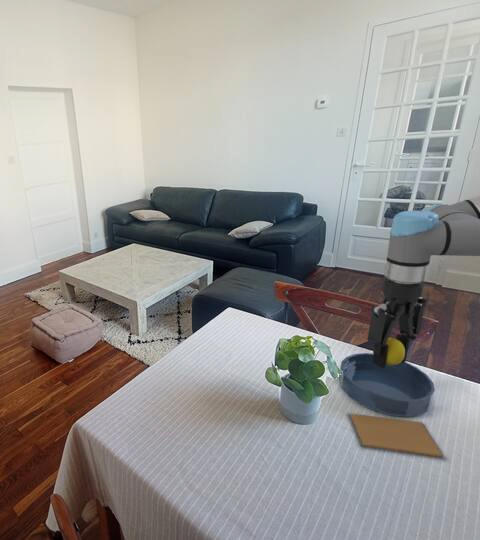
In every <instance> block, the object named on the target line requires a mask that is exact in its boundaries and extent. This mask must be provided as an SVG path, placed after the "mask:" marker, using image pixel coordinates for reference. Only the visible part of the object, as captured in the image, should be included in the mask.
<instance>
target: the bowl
mask: <svg viewBox="0 0 480 540" xmlns="http://www.w3.org/2000/svg"><path fill="white" fill-rule="evenodd" d="M373 356H374V353H373V352H371V353H370V352H369V353H368V352H359V353H354V354H351V355H348V356H346V357H345V358H343V359H342V360H341V361H340V367H339V368H340V369H341V370H342V371H343V374H342V375H340V374H339V376H338V383H339V386H340V388H341V390H342V391H343V392H344V393H345V394H346V395H347V396H348V397H349V398H350V399H351V400H353V401H355V402H356V403H358V404H359V405H361V406H363V407H365V408H368V409H369V410H372V411H374V412H378V413H380V414H384V415H385V414H386V415H387V416H395V417H402V418H407V417H417V416H421V415H422V414H425V413H427V412H428V411H429V409H430V408H431V406H432V403H433V400H434V396H435V392H436V389H435V383H434V382H433V381H432V379H431V378H430V377H429V376H428V374H427V373H426V372H424V371H422V370H421V369H420V368H418V367H417V366H416V365H413V364H411V363H409V362H408V361H405V362H401V363H399V364H397V365H387V364H385V368H381V367H379V366H378V365H376V364H374V363H373ZM340 369H339V370H340Z"/></svg>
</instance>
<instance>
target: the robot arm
mask: <svg viewBox="0 0 480 540" xmlns="http://www.w3.org/2000/svg"><path fill="white" fill-rule="evenodd" d="M387 247H388V248H387V254H386V255H387V256H386V262H385V267H384V275H383V276H384V277H383V279H382V284H381V293H383V295H384V298H383V299H382V301H381V304H379V305H378V306H377V305H372V306H371V307H370V309H371V310H370V311H371V317H370V323H369V327H368V328H369V329H368V332H367V339H366V340H367V341H369V342H370V343H372V344H373V351H372V354H374V356H373V363H374V364H376V365H378V366H379V367H381V368H385V363H386V358H387V352H388V347H389V345H387V344H386V343H387V341H388V338H390V336H391V333H392V331H393V329H394V326H395V325H396V322H398V329H399V334H396V336H395V339H397V340H399V341H400V342H401V343H402V344H403V346H404V348H405V356H404V359H403V360H402V362H407V361H406V360H407V357H408V352H409V351H408V350H409V347H410V344H411V340H412V341H415V340H417V338H418V337H417V336H418V335H420V333H421V328H422V324H423V323H422V321H423V317H424V311H425V307H426V305H427V303H428V299H427V298H425V297H423V295H424V290H425V286H426V282H425V281H426V280H427V276H428V272H429V267H430V262H431V257H432V256H453V257H454V256H457V257H458V256H459V257H462V256H463V257H480V194H479V195H476V196H474V197H470V198H467V199H464V200H461V201H458V202H456V203H453V204H442V203H441V204H434V205H432V206H429V207H428V208H426V209H424V210H405V211H400V212H398V213H397V214H395V215H394V217H393V220H392V223H391V227H390V231H389V240H388V246H387Z"/></svg>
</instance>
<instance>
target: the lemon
mask: <svg viewBox="0 0 480 540" xmlns="http://www.w3.org/2000/svg"><path fill="white" fill-rule="evenodd" d="M386 344H387V345H389V347H388V352H387V358H386V363H385V364H387V365H397V364H399V363H401V362H402V360H403V359H404V356H405V348H404V346H403V344H402V343H401V342H400V341H399V340H397V339H396V337H389V338H388V341H387V343H386Z"/></svg>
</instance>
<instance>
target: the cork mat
mask: <svg viewBox="0 0 480 540" xmlns="http://www.w3.org/2000/svg"><path fill="white" fill-rule="evenodd" d="M350 417H351V419H352V422H353V424H354V427H355V429H356V431H357V434H358V436H359V439H360V441H361V444H362V446H363V447H369V448H376V449H383V450H389V451H396V452H402V453H410V454H416V455H424V456H430V457H438V458H442V457H443V454H442V452H441V451H440V449H439V447H438V446H437V445H436V443H435V441H434V440H433V439H432V437H431V436H430V433H429V432H428V431H427V429H426V428H425V426H424V425H423V423H422V422H420V421H412V420H404V419H396V418H387V417H379V416H371V415H362V414H354V413H351V414H350Z"/></svg>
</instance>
